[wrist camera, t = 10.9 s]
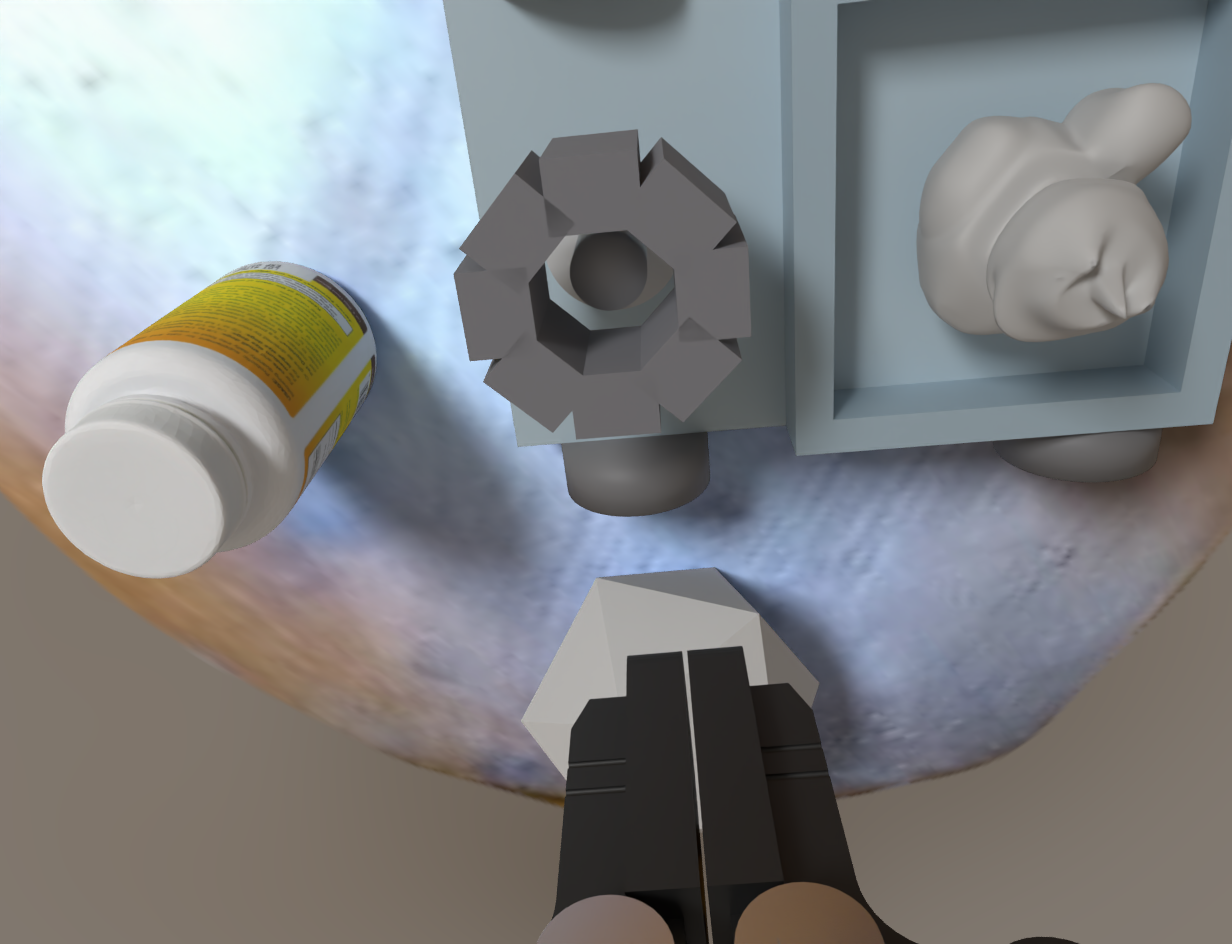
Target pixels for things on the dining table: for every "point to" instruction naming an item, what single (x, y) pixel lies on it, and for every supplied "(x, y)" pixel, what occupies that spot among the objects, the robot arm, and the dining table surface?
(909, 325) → the chassis
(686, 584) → the die
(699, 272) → the spare wheel
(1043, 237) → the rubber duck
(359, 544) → the dining table surface
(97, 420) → the supplement bottle
